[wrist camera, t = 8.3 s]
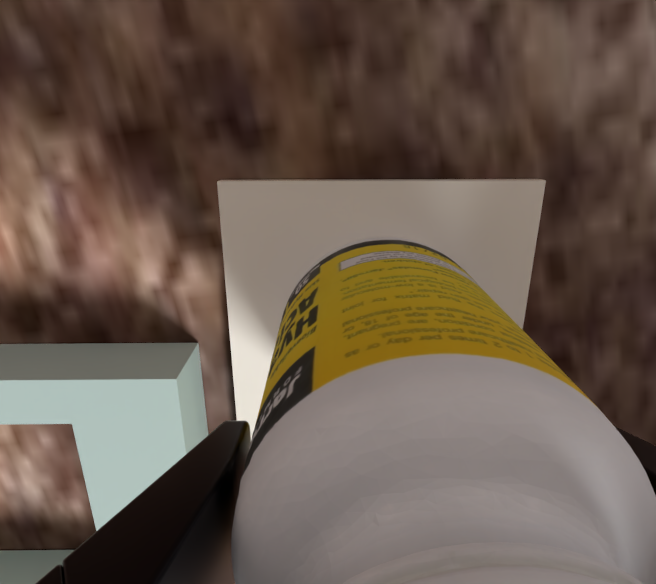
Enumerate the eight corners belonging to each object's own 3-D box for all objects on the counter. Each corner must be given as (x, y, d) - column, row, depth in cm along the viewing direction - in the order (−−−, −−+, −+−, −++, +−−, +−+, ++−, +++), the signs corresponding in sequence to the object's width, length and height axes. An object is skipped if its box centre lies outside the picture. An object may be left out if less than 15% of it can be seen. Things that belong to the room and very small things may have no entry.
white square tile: (538, 178, 11) (545, 180, 11) (498, 442, 14) (503, 451, 14) (220, 179, 11) (216, 181, 11) (241, 444, 14) (239, 453, 13)
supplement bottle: (287, 222, 11) (115, 636, 2) (498, 243, 11) (1234, 705, 2) (274, 406, 13) (150, 1074, 4) (456, 421, 13) (762, 1086, 4)
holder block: (198, 342, 13) (176, 379, 11) (223, 575, 16) (210, 635, 14) (-230, 345, 13) (-328, 382, 11) (-122, 578, 16) (-184, 640, 14)
